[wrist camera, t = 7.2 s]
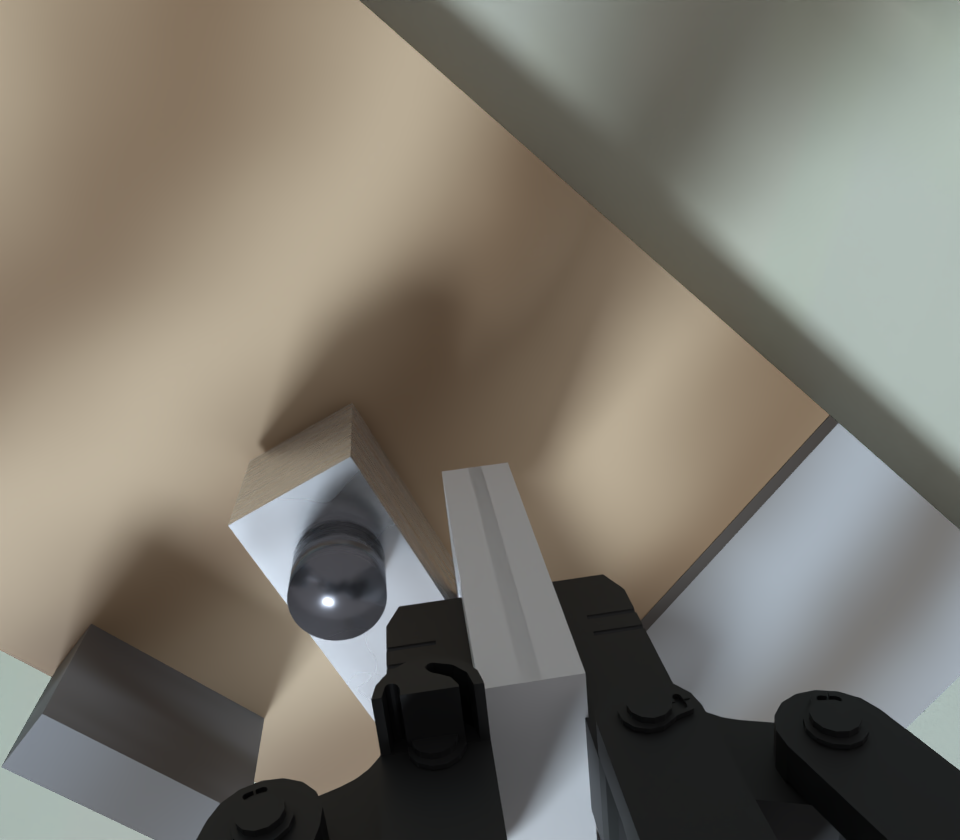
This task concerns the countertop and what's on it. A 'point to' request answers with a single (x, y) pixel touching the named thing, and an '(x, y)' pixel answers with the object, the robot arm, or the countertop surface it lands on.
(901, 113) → the countertop surface
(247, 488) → the swing bar
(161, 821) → the door board
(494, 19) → the countertop surface
